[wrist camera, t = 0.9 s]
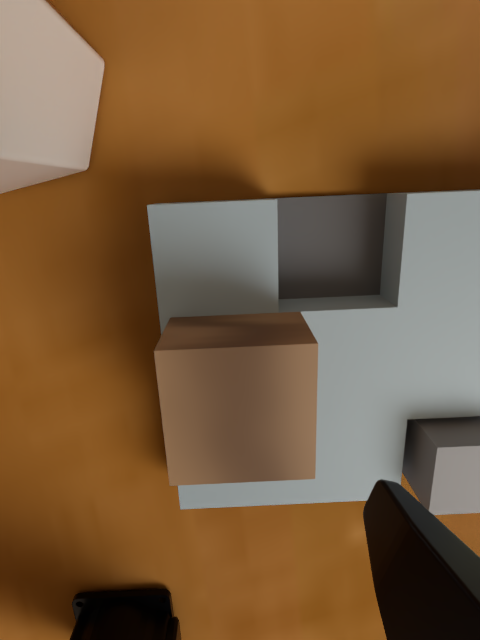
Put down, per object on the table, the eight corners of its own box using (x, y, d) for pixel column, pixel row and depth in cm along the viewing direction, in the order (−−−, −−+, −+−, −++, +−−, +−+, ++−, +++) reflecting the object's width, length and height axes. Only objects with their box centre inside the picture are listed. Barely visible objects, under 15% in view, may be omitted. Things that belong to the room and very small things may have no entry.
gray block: (397, 463, 24) (428, 515, 20) (402, 404, 22) (437, 447, 19) (463, 460, 24) (507, 511, 20) (472, 401, 22) (521, 443, 19)
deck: (185, 477, 24) (172, 557, 19) (157, 203, 19) (129, 208, 14) (578, 459, 24) (674, 533, 19) (653, 181, 19) (812, 178, 14)
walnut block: (181, 430, 20) (169, 485, 16) (170, 317, 18) (153, 351, 14) (299, 424, 20) (315, 478, 16) (300, 311, 18) (318, 343, 14)
